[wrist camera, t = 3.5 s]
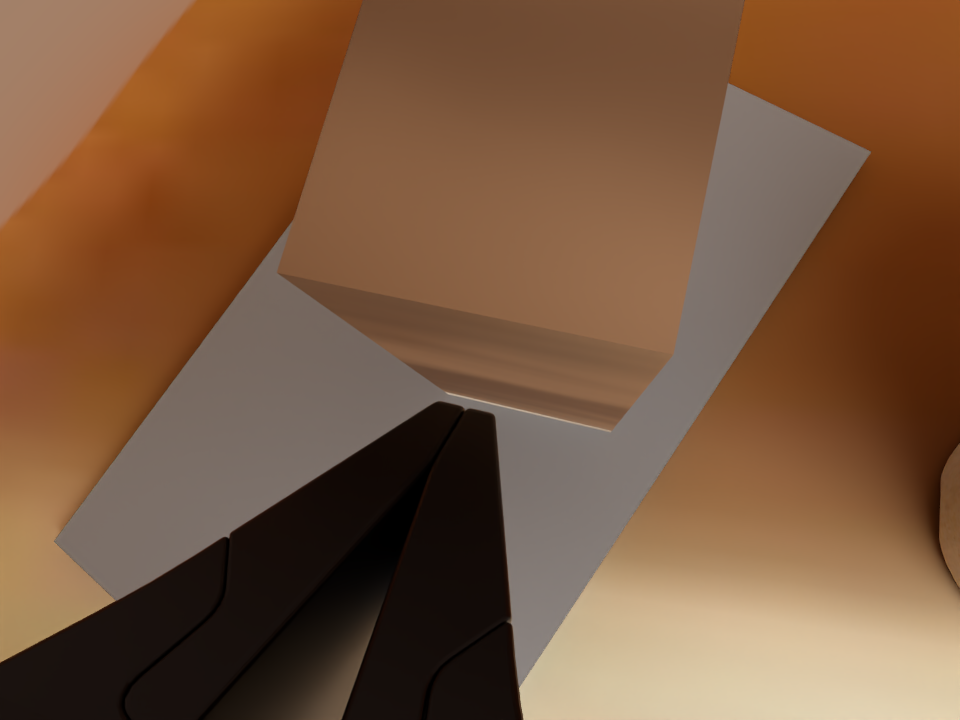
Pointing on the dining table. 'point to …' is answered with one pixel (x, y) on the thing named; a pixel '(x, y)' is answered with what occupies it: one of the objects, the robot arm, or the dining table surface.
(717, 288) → the rubber mat
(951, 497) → the flower pot
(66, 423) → the dining table surface
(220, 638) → the robot arm
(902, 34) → the dining table surface
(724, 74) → the walnut block
